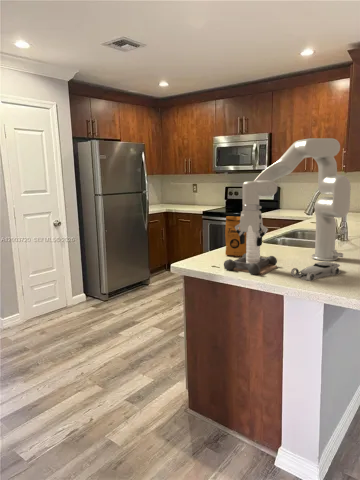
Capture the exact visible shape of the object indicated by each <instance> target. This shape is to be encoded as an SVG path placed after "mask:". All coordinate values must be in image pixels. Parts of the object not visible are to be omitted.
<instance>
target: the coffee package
mask: <svg viewBox="0 0 360 480" xmlns="http://www.w3.org/2000/svg"><path fill="white" fill-rule="evenodd" d="M240 217H241V216H229V215H228V216H226V217H225V229H224V230H225V231H224V233H225V236H224V237H225V256H226V255H227V256H231V257H242V256H243V254H245V253H246V235H247V234H246V232H245V233H244V235H245V243H244V244H240V236H239V234H238V233H237V231H236V229H235V226H236V225H238V224H240ZM239 230H240V227H239Z"/></svg>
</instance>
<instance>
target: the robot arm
mask: <svg viewBox="0 0 360 480" xmlns="http://www.w3.org/2000/svg"><path fill="white" fill-rule="evenodd" d="M340 150H341V143H340V142H339V140H338V139H335V138H332V137H331V138H330V137H329V138H328V137H326V138H318V137H317V138H313V137H311V138H310V137H309V138H305V139H299V140H296V141H294V142H293V143H292V144H291V145H290V146H289V147H288V149H286V151H285V152H284V153H283V154H282V155H281V157H280V158H279V159H278V160H277V161H276V162H274V163H273V164H271V165H269V166H268V167H266V168H265V169H264V170H262V171H261V173H260V174H259V175H258V176H257V177H256V178H255V179H254V180H251V181H244V182H243V183H242V211H240V216H239V217H240V224H238V225H236V226H235V229H236V231H237V233H238V234H239V236H240V244H244V243H245V235H244V233H245V232H248V227H249V226H252V231H253V232H254V233H256V234H257V236H258V238H257V246H260V247H261V246H262V244H263V238H264V236H265V235H266V233H267V232H268V230H269V227H268V228H267V227H266V226H265V225H263V222H264V221H263V214H262V211H261V209H262V206H261V205H260V197H273V196H274V195H275V194H276V193H277V192H278V184H277V183H276V182H275V181H276V180H278V179H280V178H283V177H285V176H287V175H290V174H291V173H292V172H293V171H295V169H296V168H297V167H298V165H300V163H301V162H302V161H303V160H304V159H307V158H312V159H313V160H314V161H315V162H316V164H317V168H318V171H317V172H318V175H317V176H318V177H317V178H318V181H317V183H318V184H317V186H318V189H317V190H318V191H319V192H320V194H322V195H327V196H324V197H320V198H318V199H317V200H316V201H315V203H314V213H315V214H314V215H315V243H314V244H315V245H314V253H313V254H312V255H311V258H312V259H314V260H317V261H321V262H331V261H337V260H338V258H343V257H344V253H342V252H338V251H337V250H338V249H336V237H337V236H336V234H337V222H336V218H338V219H340V218H344V217H346V216H347V215H348V213H349V211H350V207H351V182H350V180H349V178H348V177H347V176H345V175H342V174H338V169H337V168H338V163H337V161H336V159H335V157H336V156H337V155H338V154H339V152H340ZM328 195H332V196H331V197H329V196H328ZM242 214H244V216H242ZM239 227H240V230H239ZM259 228H260V231H259Z"/></svg>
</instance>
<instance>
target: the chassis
mask: <svg viewBox="0 0 360 480" xmlns="http://www.w3.org/2000/svg"><path fill="white" fill-rule="evenodd" d="M277 264H278V260H277V258H276V257H275V256H274V255H269V256H267V257H260V262H257V263H252V264H250V263H246V253H245V254H243V256H241V257H239V258H237V259H235V260H233V259H230V258H229V259H226V260H225V261H224V262H223V269H225V270H226V271H237V272H243V273H248V274H250V275H253V276H255V275H258V276H259V275H261V276H263V275H265V274H267V273H269V272H271V271H273V270H275V269H277V268H278V266H277Z"/></svg>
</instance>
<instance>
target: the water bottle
mask: <svg viewBox="0 0 360 480" xmlns="http://www.w3.org/2000/svg"><path fill="white" fill-rule="evenodd" d="M242 216H244V214H242ZM259 231H260V228H259ZM257 238H258V236H257V234H256V233H254V232H253V231H252V226H249V227H248V232H246V263H250V264H252V263H257V262H260V258H261V246H257Z"/></svg>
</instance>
